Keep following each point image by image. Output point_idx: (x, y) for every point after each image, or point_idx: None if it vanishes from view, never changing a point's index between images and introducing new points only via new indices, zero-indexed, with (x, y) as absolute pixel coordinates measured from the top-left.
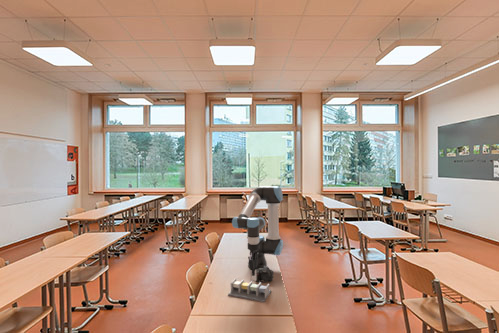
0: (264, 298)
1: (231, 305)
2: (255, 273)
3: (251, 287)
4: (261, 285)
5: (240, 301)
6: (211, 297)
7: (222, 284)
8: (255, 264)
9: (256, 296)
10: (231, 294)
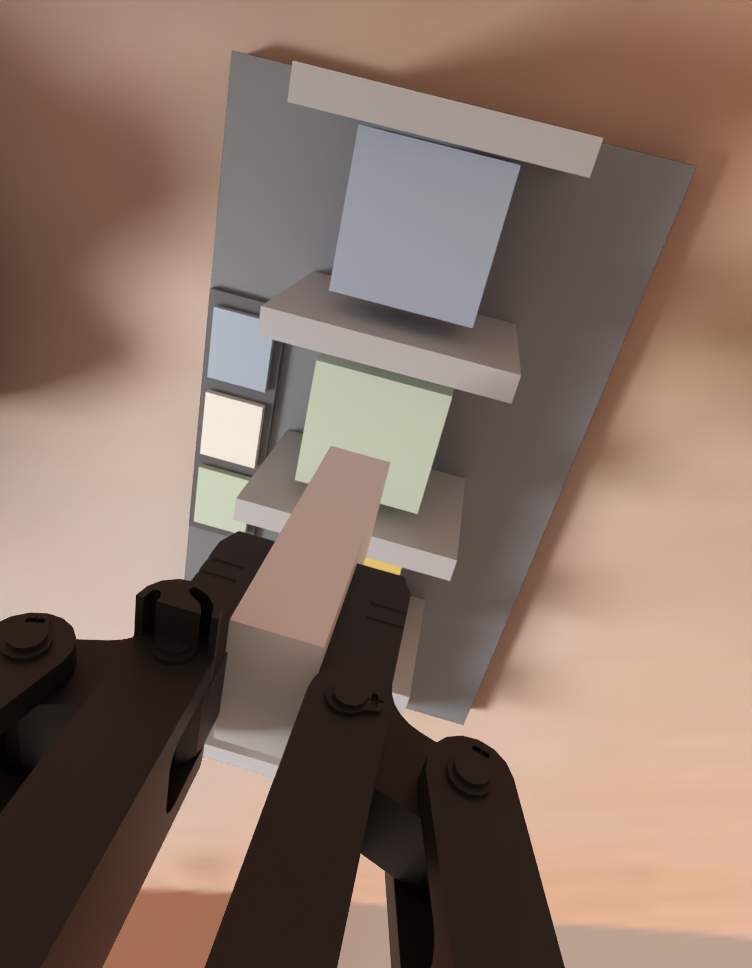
0: (603, 172)
1: (730, 660)
2: (348, 574)
3: (426, 483)
4: (342, 283)
5: (626, 563)
6: None
7: (209, 774)
8: (124, 838)
9: (526, 342)
10: (476, 690)
